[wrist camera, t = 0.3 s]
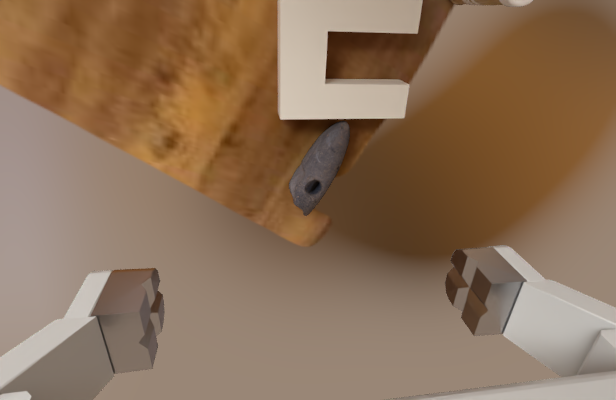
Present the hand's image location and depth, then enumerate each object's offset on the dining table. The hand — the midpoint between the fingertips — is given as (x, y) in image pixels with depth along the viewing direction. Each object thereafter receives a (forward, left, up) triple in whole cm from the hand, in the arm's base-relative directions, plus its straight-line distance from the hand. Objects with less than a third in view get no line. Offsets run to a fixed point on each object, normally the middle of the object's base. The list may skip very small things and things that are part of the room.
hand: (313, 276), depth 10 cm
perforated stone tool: (+15, +9, -47) cm, 50 cm away
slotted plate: (0, +12, -47) cm, 48 cm away
